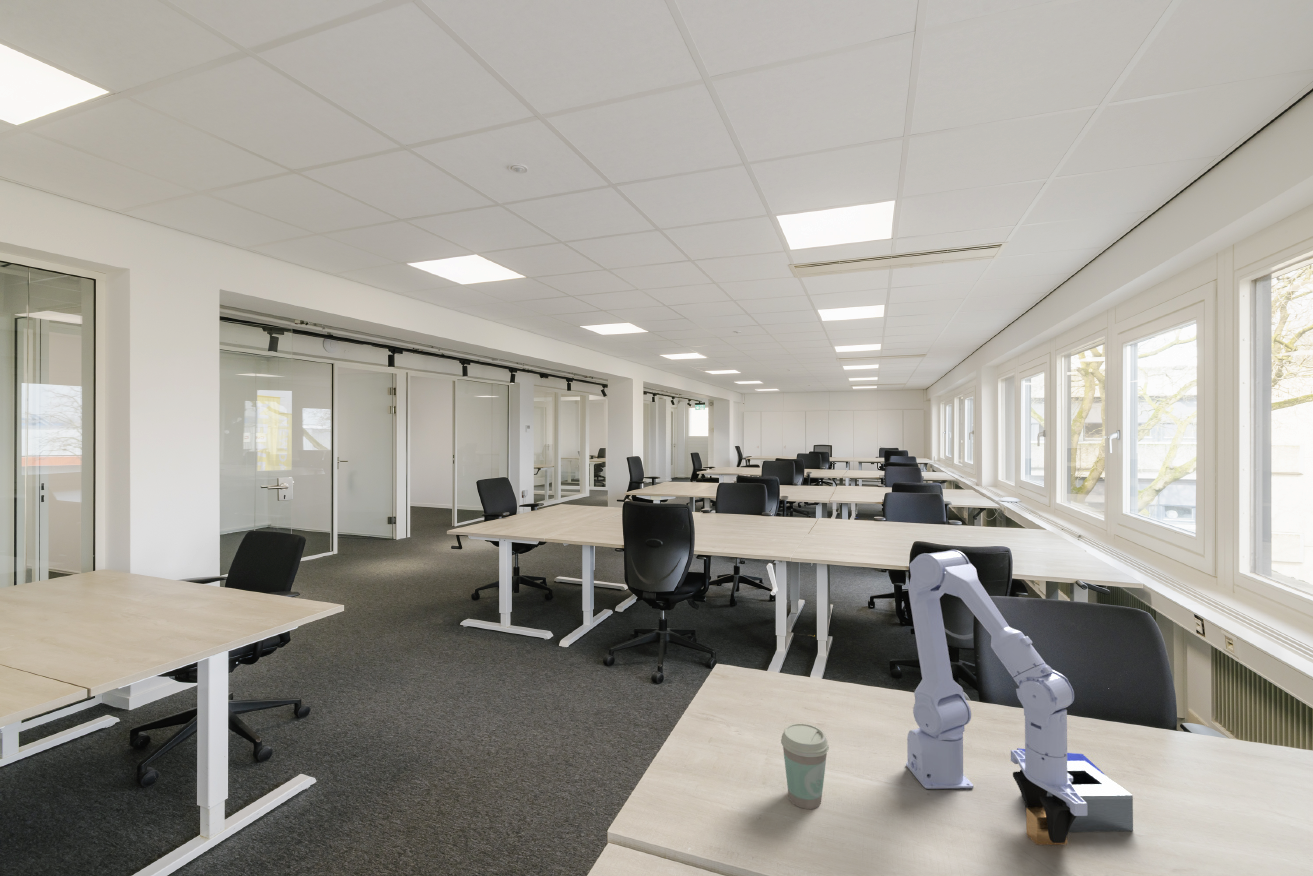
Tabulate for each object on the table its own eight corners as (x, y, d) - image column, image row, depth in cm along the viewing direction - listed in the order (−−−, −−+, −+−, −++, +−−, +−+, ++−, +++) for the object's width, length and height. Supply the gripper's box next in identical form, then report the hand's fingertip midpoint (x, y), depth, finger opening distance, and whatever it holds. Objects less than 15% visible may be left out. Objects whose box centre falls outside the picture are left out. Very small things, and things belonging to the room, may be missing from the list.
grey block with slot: (1063, 832, 91) (1062, 796, 91) (1021, 793, 101) (1021, 761, 101) (1133, 831, 91) (1132, 795, 91) (1084, 792, 101) (1084, 760, 101)
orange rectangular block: (1036, 845, 88) (1036, 817, 88) (1026, 834, 91) (1026, 807, 91) (1067, 844, 88) (1066, 817, 88) (1055, 834, 91) (1055, 807, 91)
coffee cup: (803, 820, 94) (803, 751, 94) (771, 792, 102) (771, 728, 102) (839, 805, 98) (839, 738, 98) (806, 779, 106) (805, 717, 106)
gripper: (1106, 774, 83) (1107, 863, 82) (1037, 724, 97) (1038, 801, 97) (1061, 774, 82) (1062, 864, 82) (999, 725, 97) (999, 801, 97)
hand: (1046, 830), depth 90 cm, fingers open, 4 cm apart
